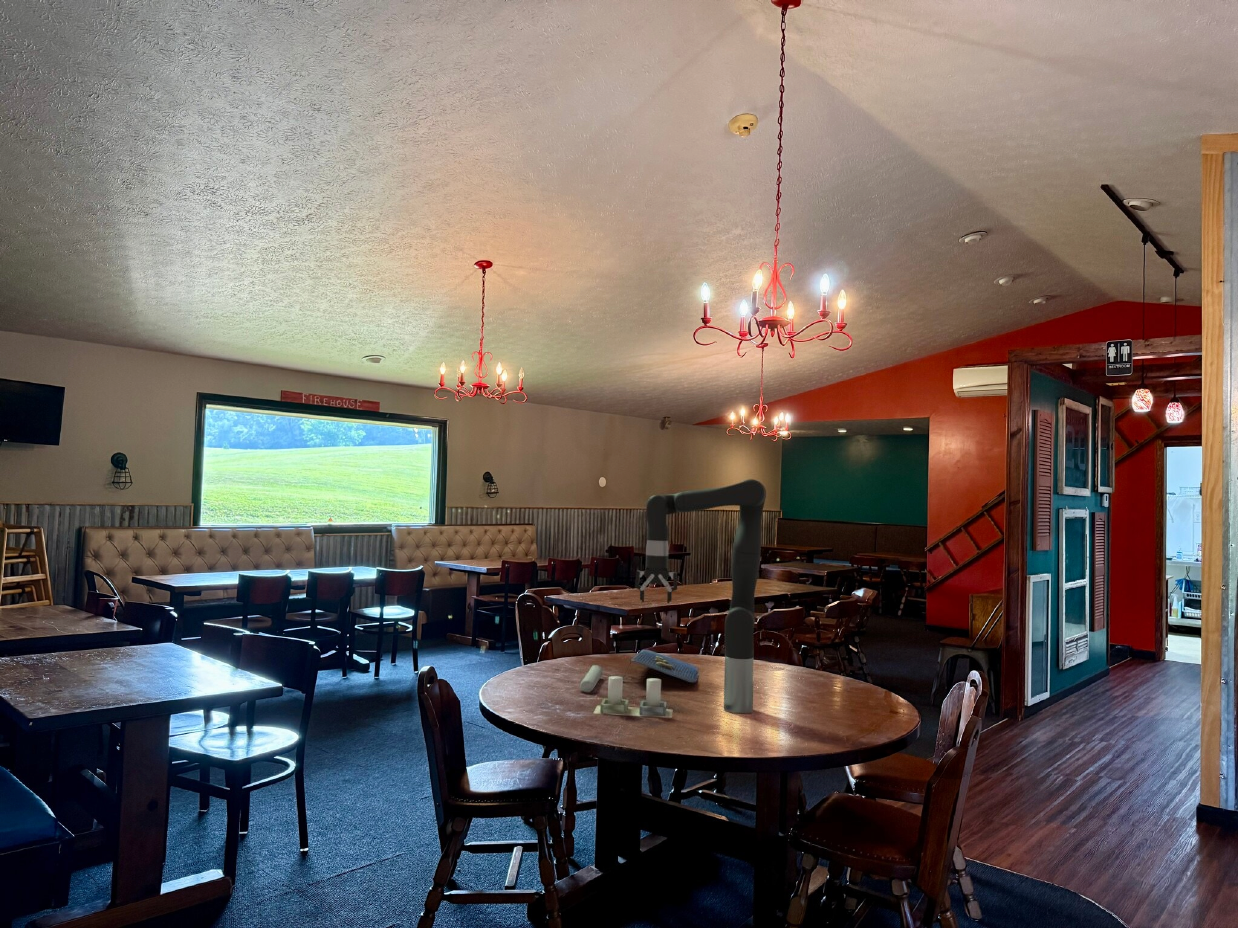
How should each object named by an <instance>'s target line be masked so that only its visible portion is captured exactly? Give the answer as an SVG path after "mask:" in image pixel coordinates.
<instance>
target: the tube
mask: <svg viewBox="0 0 1238 928" xmlns="http://www.w3.org/2000/svg"><path fill="white" fill-rule="evenodd" d="M588 670H589V671H588V672H587V673H586V675H585V676H584V678H583V679H582V680H581V682H580V684H579V685H580V686H579V689H580V690H581V691H582V692H583V693H592V691H593V690H594V689H595V686H596V685H597V684H598V682H599V680H600V679H601V677H602V676H603V673H604V671H603V670H604V669H603V668H602V667H601V666H600V665H596V664H595V665H594V664H592V666H591V667H590V668H589V669H588Z"/></svg>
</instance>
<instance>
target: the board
mask: <svg viewBox="0 0 1238 928" xmlns="http://www.w3.org/2000/svg"><path fill="white" fill-rule="evenodd" d="M639 704H640V705H639V707H632V706H631V707H630V706H629V699H622V705H611V704H608V698H603V699H602V701H601V703H600V705H596V707H595V709H594V711H593V714H594V715H595V714H597V715H599V714H600V715H612V716H613V715H614V716H615V715H616V716H633V717H648V718H650V717H651V718H667V719H672V718H673V711H674V710H673V709H668V708H667V701H660V706H661V707H647V706H646V700H640V703H639Z"/></svg>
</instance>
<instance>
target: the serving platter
mask: <svg viewBox="0 0 1238 928" xmlns="http://www.w3.org/2000/svg"><path fill="white" fill-rule="evenodd" d="M632 662H633V663H637V664H638V665H641V666H644V667H647V668H650V669H652V670H655V671H658V672H661V673H663V674H666V675H669V676H670V677H675V678H677V679H680V680H683V681H686V682H689V683H696V682H697V680H698V678H699V677H700V674H699V669H698V668H697V666H695V665H693V664H690V663H688V662H686V661H683V660H678V659H677V658H674V657H670V656H668V655H664V654H661V653H658V652H655V651H652V650H648V649H642V650H641V651H640V652H638V653H637V654H636V655H634V657H633V658H631V660H630V662H629V665H628V667H627V670H626V672H625V673H627V671H628V669H629V667H630V665H631V663H632ZM625 677H626V674H624V676H623V677H622V678H623V680H624V679H625Z"/></svg>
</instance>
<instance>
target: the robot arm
mask: <svg viewBox="0 0 1238 928" xmlns="http://www.w3.org/2000/svg"><path fill="white" fill-rule="evenodd" d="M766 497H767V490H766V487H765V485H764V484H763V483H762V482H760V481H759V480H757V479H754V478H748V479H745V480H743V481H739V482H737V483H733V484H730V485H727V486H722V487H715V488H704V489H703V488H701V489H694V490H685V491H681V492H677V493H671V494H654V495H652V496H650V497H649V498H648V500H647V502H646V506H645V507H646V509H645V511H646V512H645V513H646V523H647V536H646V538H647V539H646V546H645V547H646V548H645V570H644V571H643V570H636V572H635V581H634V583H635V584H634V588H635V589H637V590H639V600H640V601H641V603H644V602H645V588H646V587H647V586H648V585H649V584H650V585H662V584H663V586H664V587H665V588H666V589H667V597H666V598H667V599H666V602H667V603H666V604H670V602H672V599H673V598H672V597H673V596H672V595H673V593H672V592H674V591H677V590H678V573H677V572H676V571H672V572H669V569H668V568H669V552H670V551H669V526H668V525H667V515H672V514H673V515H674V514H678V513H693V512H699V511H704V510H709V509H714V508H718V507H728V506H734V507H735V506H738V507H739V519H738V525H737V528H736V531H735V536H734V540H733V544H732V554H731V565H730V566H731V570H730V571H731V582H732V583H731V585H732V591H731V599H730V606H729V610H728V613H727V615H726V616H725V620H724V680H723V681H724V682H723V683H724V684H723V710H724V711H726V712H728V713H732V714H733V713H734V714H750V713H751V714H752V713H753V712H754V683H755V682H754V654H755V653H754V652H755V651H754V631H755V629H754V628H755V622H756V618H755V617H756V616H755V592H756V586H757V583H758V577H759V571H760V565H761V550H762V548H761V547H762V526H761V525H762V517H763V511H764V507H765V502H766ZM643 575H644V577H645V578H646V581H644V582H643V584H642V585H640V578H642V577H643ZM669 577H671V579H672V581H673V583H672V584H673V586H672V587H671V585H670V584H669V582H668V581H667V579H668V578H669Z"/></svg>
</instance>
